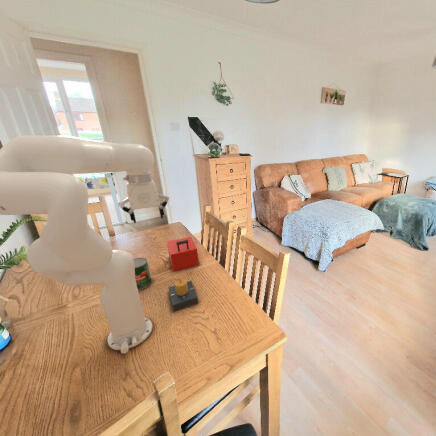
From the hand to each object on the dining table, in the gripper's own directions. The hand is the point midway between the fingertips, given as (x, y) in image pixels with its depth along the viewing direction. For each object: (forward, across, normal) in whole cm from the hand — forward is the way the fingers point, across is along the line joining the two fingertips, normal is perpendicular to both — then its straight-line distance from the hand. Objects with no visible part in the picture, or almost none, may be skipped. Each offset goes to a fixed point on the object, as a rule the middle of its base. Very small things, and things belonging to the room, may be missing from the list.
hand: (148, 219), depth 97 cm
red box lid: (+20, +11, +8) cm, 25 cm away
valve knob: (+25, +6, -19) cm, 33 cm away
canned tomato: (+29, -8, -1) cm, 30 cm away
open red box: (+29, +11, +8) cm, 33 cm away
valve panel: (+28, +6, -20) cm, 35 cm away
